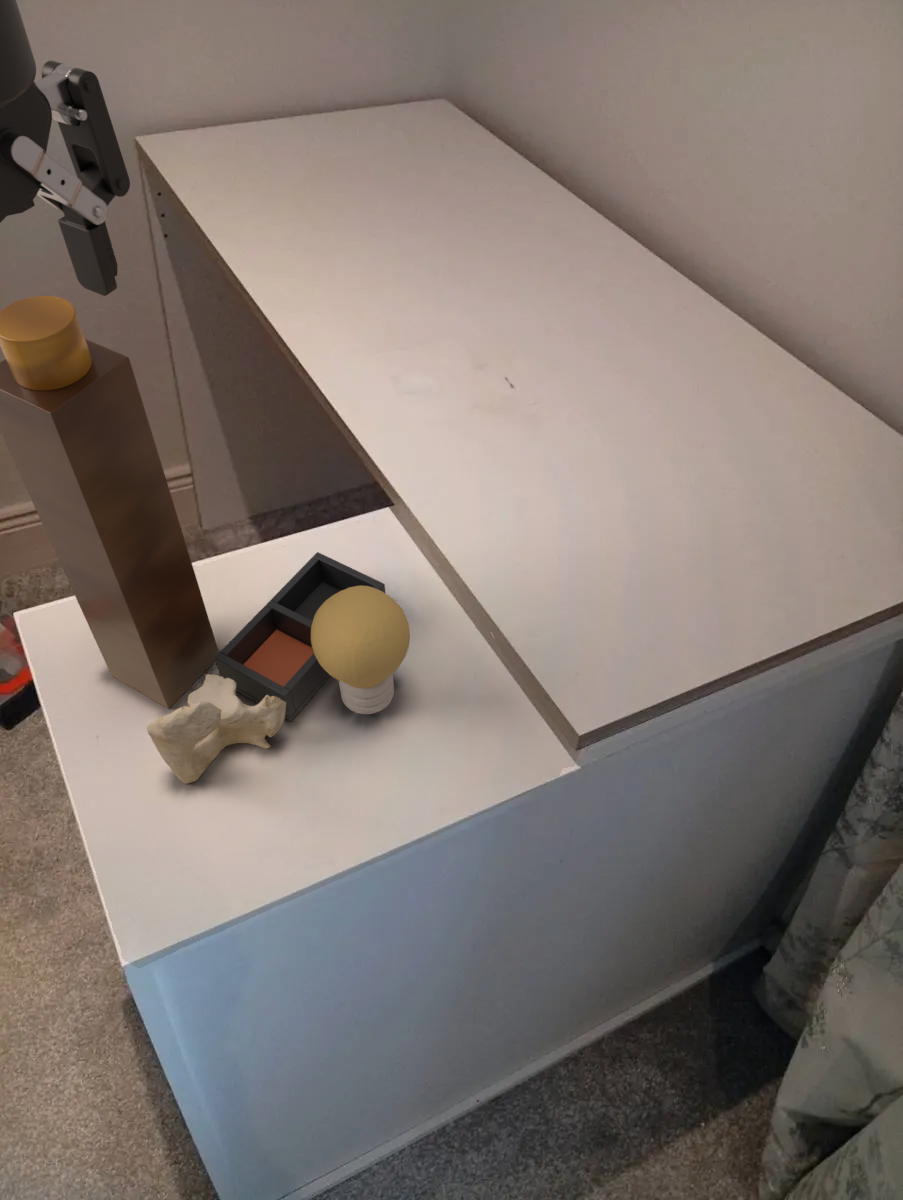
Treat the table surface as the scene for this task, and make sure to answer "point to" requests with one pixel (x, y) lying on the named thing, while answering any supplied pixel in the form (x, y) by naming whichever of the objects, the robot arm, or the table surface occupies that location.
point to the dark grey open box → (287, 637)
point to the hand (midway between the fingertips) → (37, 329)
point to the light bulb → (361, 645)
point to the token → (44, 343)
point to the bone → (213, 726)
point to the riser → (112, 522)
